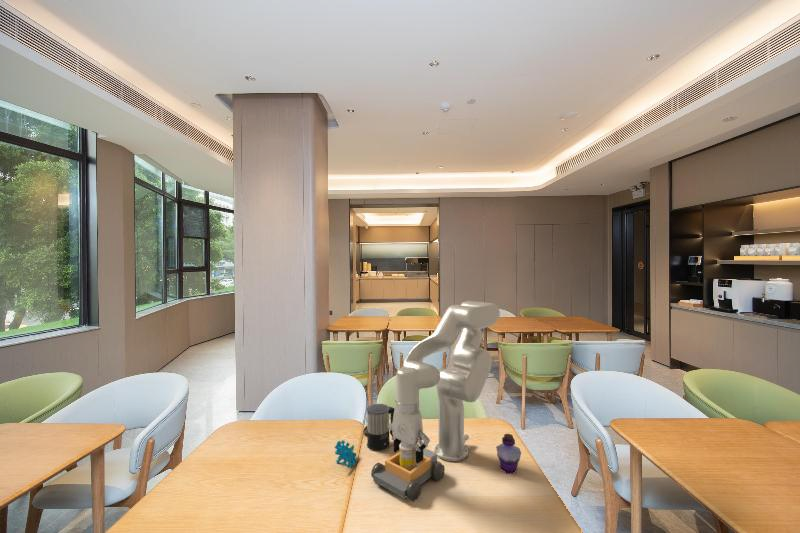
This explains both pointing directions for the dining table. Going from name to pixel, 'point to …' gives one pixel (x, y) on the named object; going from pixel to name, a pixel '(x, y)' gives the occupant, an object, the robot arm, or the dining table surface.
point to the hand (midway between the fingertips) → (408, 456)
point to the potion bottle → (508, 454)
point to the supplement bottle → (407, 456)
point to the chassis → (407, 474)
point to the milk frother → (378, 426)
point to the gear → (345, 453)
